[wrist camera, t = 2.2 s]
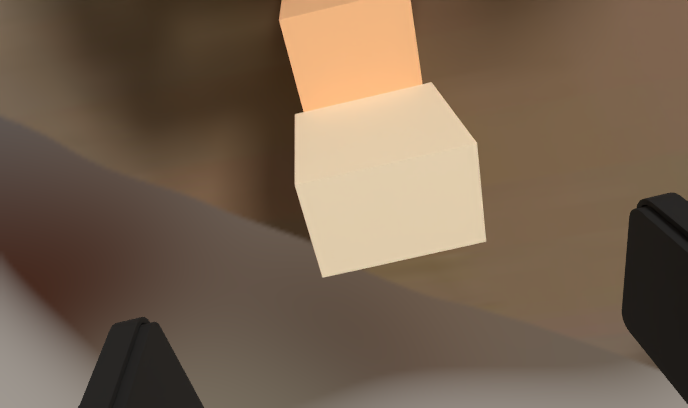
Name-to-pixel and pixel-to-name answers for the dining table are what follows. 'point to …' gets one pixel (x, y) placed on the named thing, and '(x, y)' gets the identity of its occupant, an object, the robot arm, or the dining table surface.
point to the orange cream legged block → (375, 139)
